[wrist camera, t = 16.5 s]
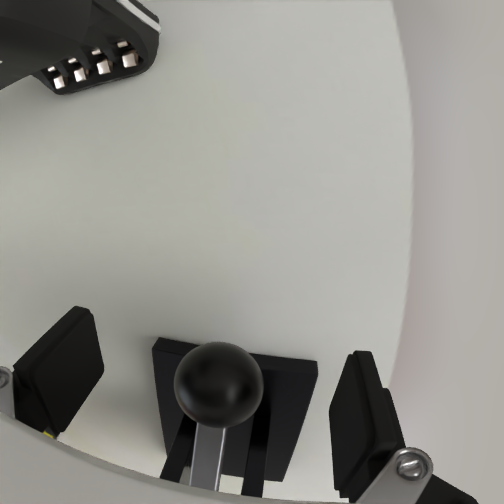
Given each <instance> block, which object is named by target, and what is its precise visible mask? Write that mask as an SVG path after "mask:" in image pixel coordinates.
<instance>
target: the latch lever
mask: <svg viewBox="0 0 504 504" xmlns="http://www.w3.org/2000/svg"><path fill="white" fill-rule="evenodd" d="M174 391H175V396H176V399H177V401H178V403H179V405H180V407H181V408H182V410H183V411H184V412H185V413H186V414H187V415H188V416H189V417H190V418H191V419H193V420H194V421H196V422H197V428H196V436H195V443H194V451H193V459H192V467H191V475H190V484H189V486H192V487H197V488H202V489H206V490H212V491H217V492H218V490H219V484H220V477H221V471H222V464H223V457H224V451H225V444H226V437H227V431H228V428H229V427H233V426H236V425H238V424H240V423H242V422H244V421H246V420H247V419H248V418H249V417H251V416H252V415H253V413H254V412H255V411H256V410H257V408H258V406H259V404H260V402H261V400H262V397H263V392H264V380H263V375H262V372H261V370H260V368H259V366H258V364H257V362H256V361H255V360H254V358H253V357H252V356H251V355H250V354H249V353H247V352H246V351H245V350H243V349H242V348H240V347H238V346H236V345H233V344H230V343H225V342H211V343H206V344H203V345H200V346H198V347H196V348H194V349H193V350H191V351H190V352H189V353H187V354H186V356H185V357H184V358H183V359H182V360H181V362H180V364H179V365H178V367H177V370H176V373H175V377H174Z"/></svg>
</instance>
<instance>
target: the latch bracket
mask: <svg viewBox="0 0 504 504" xmlns="http://www.w3.org/2000/svg"><path fill="white" fill-rule="evenodd" d="M198 346H200V345H196V344H190V343H185V342H180V341H175V340H170V339H165V338H160V337H159V338H158V340H157V341H156V343H155V344H154V346H153V347H152V356H153V365H154V374H155V383H156V390H157V398H158V405H159V412H160V418H161V425H162V431H163V437H164V442H165V448H166V453H167V459H166V462H165V465H164V467H163V470H162V472H161V475H160V479H163V480H167V481H171V482H175V483H179V484H183V485H188V486H189V484H190V475H191V467H192V459H193V451H194V443H195V436H196V428H197V422H196V421H194V420H193V419H191V418H190V417H189V416H188V415H187V414H186V413H185V412H184V411H183V410H182V408H181V407H180V405H179V403H178V401H177V399H176V396H175V391H174V377H175V373H176V370H177V367H178V365H179V364H180V362H181V360H182V359H183V358H184V357H185V356H186V354H187V353H189V352H190V351H191V350H193V349H194V348H196V347H198ZM249 354H250V355H251V356H252V357H253V358H254V360H255V361H256V362H257V364H258V366H259V368H260V370H261V372H262V375H263V380H264V392H263V397H262V400H261V402H260V404H259V406H258V408H257V410H256V411H255V412H254V413H253V415H252V416H251V417H249V418H248V419H247V420H246V421H244V422H242V423H240V424H238V425H236V426H233V427H229V428H228V431H227V437H226V444H225V451H224V457H223V464H222V471H221V474H224V475H230V476H236V477H243V478H244V479H243V485H242V491H241V495H243V496H250V497H259V498H262V494H263V486H264V480H268V481H278V482H282V481H283V479H284V476H285V474H286V471H287V468H288V466H289V463H290V460H291V457H292V455H293V452H294V449H295V446H296V443H297V441H298V438H299V435H300V432H301V429H302V426H303V423H304V420H305V417H306V413H307V410H308V407H309V404H310V401H311V398H312V394H313V391H314V388H315V384H316V381H317V377H318V365H317V361H310V360H300V359H291V358H282V357H274V356H266V355H258V354H251V353H249Z"/></svg>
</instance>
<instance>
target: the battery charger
mask: <svg viewBox="0 0 504 504" xmlns="http://www.w3.org/2000/svg"><path fill="white" fill-rule="evenodd" d="M160 33H161V26H160V25H159V19H158V17H157V16H156V15H154V14H153V13H152V12H151V11H149V10H148V9H147V8H145V7H144V6H143V5H142V4H140V3H139V2H138V1H137V0H0V90H1V89H3V88H5V87H7V86H9V85H11V84H12V83H14V82H16V81H18V80H20V79H22V78H24V77H26V76H28V75H32V76H34V77H36V78H37V79H39V80H40V81H41V82H42V83H43V84H44V85H45V86H47V87H48V88H49V89H51V90H52V91H53V92H55V93H56V94H59V95H65V94H70V93H74V92H77V91H80V90H84V89H87V88H90V87H94V86H98V85H101V84H105V83H108V82H112V81H116V80H120V79H124V78H128V77H132V76H135V75H138V74H141V73H143V72H145V71H146V70H147V69H149V67H150V66H151V65H152V63H153V62H154V59H155V57H156V54H157V49H158V45H159V34H160Z"/></svg>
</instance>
